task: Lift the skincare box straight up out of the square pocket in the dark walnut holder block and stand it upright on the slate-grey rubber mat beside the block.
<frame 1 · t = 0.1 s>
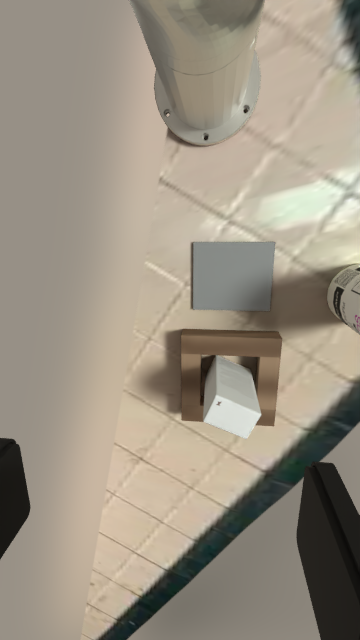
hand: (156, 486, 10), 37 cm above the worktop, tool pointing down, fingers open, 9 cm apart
rubber mat: (232, 276, 44), on the worktop
supplement can: (355, 292, 43), on the worktop
skincare box: (228, 372, 49), resting in holder block
holder block: (228, 372, 48), on the worktop
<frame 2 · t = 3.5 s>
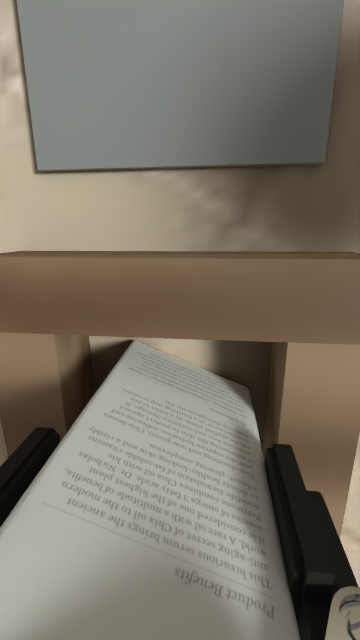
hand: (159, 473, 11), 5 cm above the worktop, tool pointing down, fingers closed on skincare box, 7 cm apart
rubber mat: (173, 17, 11), on the worktop
skincare box: (177, 396, 15), resting in holder block, touching gripper
holder block: (177, 398, 15), on the worktop
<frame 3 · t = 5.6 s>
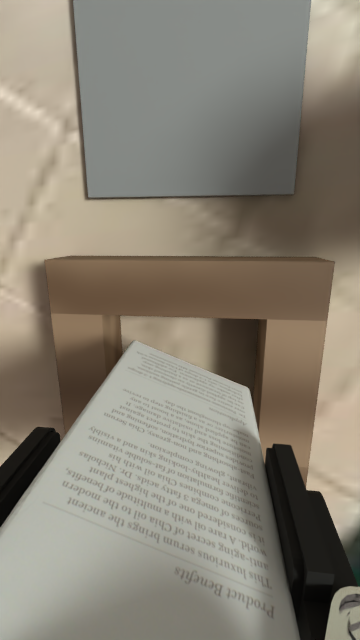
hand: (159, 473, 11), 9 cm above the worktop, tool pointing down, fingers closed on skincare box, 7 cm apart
rubber mat: (188, 94, 16), on the worktop
skincare box: (177, 396, 15), point 4 cm above the worktop, touching gripper
holder block: (187, 368, 20), on the worktop
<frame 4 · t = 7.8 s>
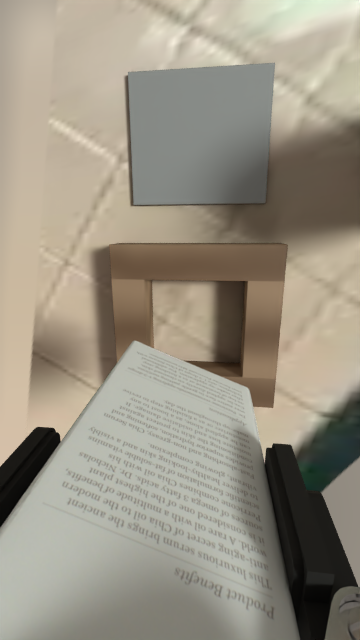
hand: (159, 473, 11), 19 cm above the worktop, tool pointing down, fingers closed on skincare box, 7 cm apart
rubber mat: (198, 140, 25), on the worktop
skincare box: (177, 396, 15), point 14 cm above the worktop, touching gripper
holder block: (196, 319, 29), on the worktop
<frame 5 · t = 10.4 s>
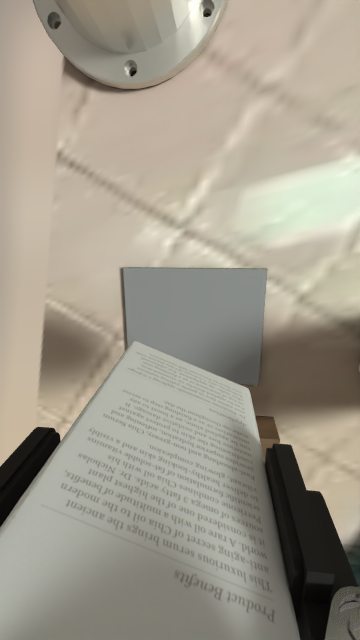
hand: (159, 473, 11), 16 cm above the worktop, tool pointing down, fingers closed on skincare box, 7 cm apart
rubber mat: (193, 326, 25), on the worktop
skincare box: (177, 397, 15), point 11 cm above the worktop, touching gripper
holder block: (192, 475, 30), on the worktop
when the fingers open (6 cm above the worktop, at t = 12.5 s): skincare box stays where it is, resting on rubber mat.
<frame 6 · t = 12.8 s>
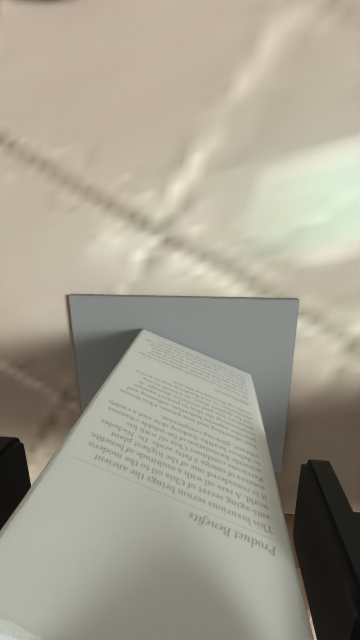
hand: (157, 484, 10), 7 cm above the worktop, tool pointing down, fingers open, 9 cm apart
rubber mat: (180, 384, 16), on the worktop
skincare box: (183, 383, 16), resting on rubber mat
holder block: (181, 587, 21), on the worktop
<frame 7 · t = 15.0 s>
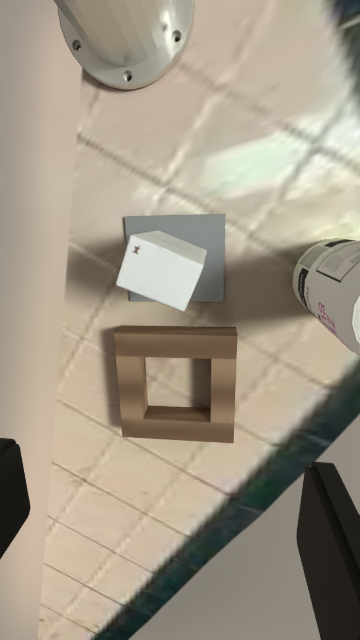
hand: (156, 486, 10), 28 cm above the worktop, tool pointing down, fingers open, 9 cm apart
rubber mat: (175, 259, 35), on the worktop
supplement can: (329, 276, 34), on the worktop
skincare box: (176, 257, 35), resting on rubber mat
holder block: (178, 378, 40), on the worktop
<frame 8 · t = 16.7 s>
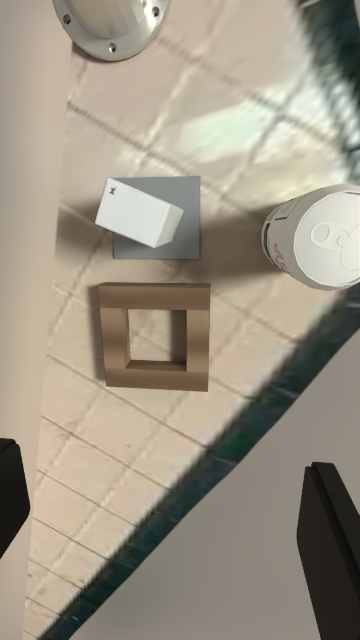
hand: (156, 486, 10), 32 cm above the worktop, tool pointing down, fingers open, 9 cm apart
rubber mat: (155, 219, 39), on the worktop
supplement can: (294, 235, 38), on the worktop
skincare box: (156, 217, 39), resting on rubber mat
holder block: (158, 333, 43), on the worktop
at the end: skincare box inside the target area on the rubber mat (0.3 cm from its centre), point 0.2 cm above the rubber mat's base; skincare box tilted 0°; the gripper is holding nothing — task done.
